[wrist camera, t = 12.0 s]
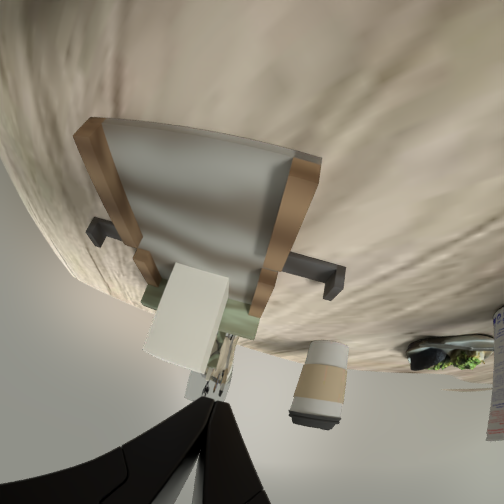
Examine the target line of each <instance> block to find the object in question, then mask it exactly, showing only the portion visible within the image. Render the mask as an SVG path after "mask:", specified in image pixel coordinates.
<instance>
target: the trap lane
mask: <svg viewBox="0 0 504 504" xmlns="http://www.w3.org/2000/svg"><path fill="white" fill-rule="evenodd" d="M73 138H74V140H75V143H76V145H77V148H78V150H79V153H80V155H81V157H82V160H83V162H84V164H85V166H86V169H87V171H88V173H89V175H90V177H91V180H92V182H93V184H94V186H95V188H96V190H97V192H98V194H99V196H100V199H101V201H102V203H103V205H104V207H105V209H106V211H107V213H108V214H109V216H110V218H111V220H112V222H110V221H106V220H103V219H99V218H96V217H94V218H93V220H92V221H91V223H90V225H89V227H88V228H87V230H86V234H87V235H88V236H89V238H90V239H91V241H92V242H93V244H94V245H95V246H97V247H101V246H102V244H103V242H104V240H105V238H106V236H108V237H111V238H114V239H117V240H120V241H123V243H124V244H125V245H127V246H131V247H134V248H137V251H136V253H135V255H134V257H133V260H134V262H135V264H136V265H137V267H138V269H139V270H140V272H141V274H142V275H143V277H144V279H145V280H146V282H147V284H148V285H147V288H146V290H145V292H144V295H143V297H142V300H141V303H142V304H143V306H146V307H148V308H151V309H154V310H157V308H158V306H159V303H160V300H161V298H162V295H163V293H164V290H165V288H166V285H167V283H168V280H169V278H170V275H171V273H172V270H173V268H174V266H175V263H179V264H183V265H186V266H189V267H193V268H196V269H200V270H203V271H206V272H210V273H213V274H217V275H220V276H224V277H227V278H229V292H228V300H227V303H226V306H225V309H224V312H223V316H222V319H221V322H220V325H219V329H218V330H219V331H222V332H225V333H229V334H232V335H236V336H239V337H243V338H247V339H250V340H254V339H255V336H256V332H257V328H258V324H259V321H260V317H261V315H262V313H263V311H264V309H265V307H266V304H267V302H268V300H269V298H270V296H271V293H272V291H273V289H274V287H275V283H276V279H277V275H278V271H279V272H281V271H283V272H286V273H290V274H294V275H297V276H301V277H305V278H308V279H312V280H316V281H320V282H323V283H325V288H324V295H323V299H325V300H329V301H331V300H332V299H334V298H335V297H336V296H337V295H338V294H339V293H340V292H341V291H342V290H343V288H344V279H345V270H346V267H343V266H339V265H336V264H332V263H328V262H325V261H321V260H318V259H314V258H310V257H307V256H303V255H300V254H296V253H292V252H290V250H291V248H292V246H293V243H294V241H295V239H296V236H297V234H298V232H299V229H300V227H301V225H302V222H303V220H304V218H305V215H306V213H307V210H308V208H309V206H310V203H311V201H312V198H313V196H314V194H315V191H316V189H317V186H318V184H319V177H320V170H321V162H322V158H320V157H316V156H313V155H310V154H306V153H303V152H299V151H295V150H292V149H288V148H284V147H280V146H276V145H272V144H268V143H264V142H260V141H256V140H251V139H247V138H242V137H238V136H233V135H228V134H223V133H218V132H212V131H207V130H201V129H195V128H189V127H183V126H176V125H169V124H162V123H154V122H145V121H136V120H125V119H113V118H97V117H90V118H89V119H88V120H87V121H86V122H85V123H84V124H83V125H82V126H81V127H80V128H79V129H78V131H77V132H76V133H75V134H74V135H73Z"/></svg>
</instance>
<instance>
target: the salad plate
mask: <svg viewBox="0 0 504 504" xmlns="http://www.w3.org/2000/svg"><path fill="white" fill-rule="evenodd" d="M493 351H494V339H493V338H491V337H488V336H484V335H466V336H452V337H437V338H428V339H423V340H419V341H416V342H414V343H412V344H410V345H409V347H408V349H407V351H406V355H407V358H408V361H409V363H410V364H411V370H414V371H417V370H423V369H428V370H430V369H433V370H439V369H440V368H442V370H443V369H444V368H446V367H447V366H450V365H454V367H458V368H459V369H461V370H463V369H472V370H473V368H475V367H476V365H478V364H481V363H482V362H483V363H484V364H485V361H484V359H486V358H488V357H489V356H490V355H491V354H492V352H493Z"/></svg>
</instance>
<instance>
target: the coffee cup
mask: <svg viewBox="0 0 504 504" xmlns="http://www.w3.org/2000/svg"><path fill="white" fill-rule="evenodd" d="M348 350H349V347H348V346H347V345H345V344H342V343H339V342H334V341H325V340H318V341H313V342H311V344H310V348H309V351H308V355H307V358H306V361H305V364H304V365H303V368H302V372H301V375H300V378H299V381H298V384H297V387H296V390H295V393H294V399H293V402H292V405H291V408H290V410H289V413H290V414H289V416H290V417H292V421H293V423H295V424H298V425H303V426H308V427H314V428H320V429H324V430H330V429H332V428H333V427H334V425H335V424H339V421H340V420H341V418H340V416H341V410H342V404H343V402H344V394H345V386H346V377H347V361H348Z"/></svg>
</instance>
